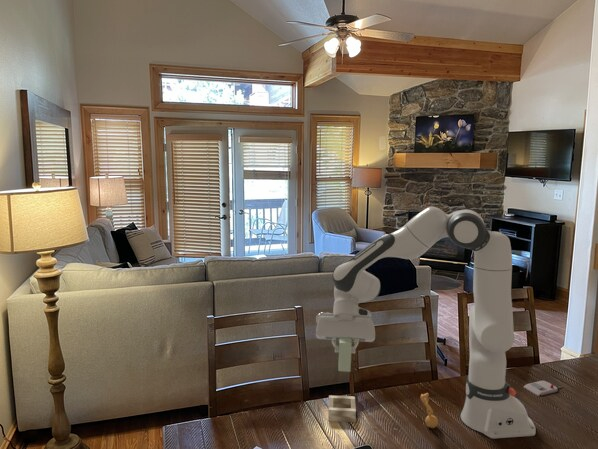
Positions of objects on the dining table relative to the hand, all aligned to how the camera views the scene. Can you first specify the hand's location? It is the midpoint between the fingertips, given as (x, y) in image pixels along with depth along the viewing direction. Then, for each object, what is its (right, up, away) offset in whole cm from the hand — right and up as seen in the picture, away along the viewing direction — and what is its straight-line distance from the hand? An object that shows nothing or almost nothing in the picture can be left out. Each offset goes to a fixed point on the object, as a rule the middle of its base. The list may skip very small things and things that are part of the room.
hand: (344, 352), depth 147 cm
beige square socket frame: (-1, -22, +3) cm, 22 cm away
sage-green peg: (0, -6, +1) cm, 6 cm away
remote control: (+77, -20, +20) cm, 82 cm away
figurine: (+27, -23, -4) cm, 36 cm away
